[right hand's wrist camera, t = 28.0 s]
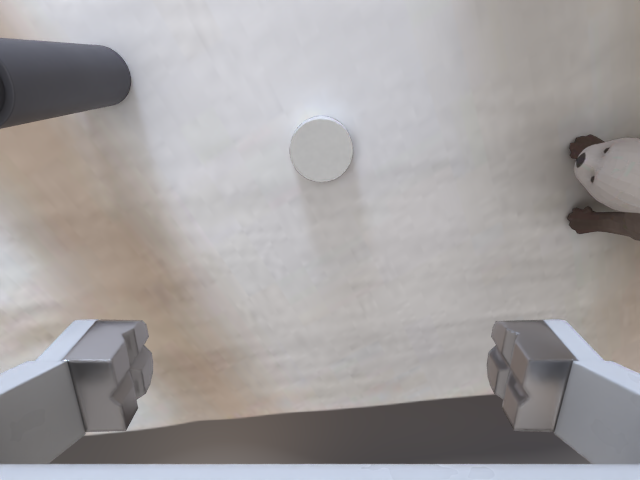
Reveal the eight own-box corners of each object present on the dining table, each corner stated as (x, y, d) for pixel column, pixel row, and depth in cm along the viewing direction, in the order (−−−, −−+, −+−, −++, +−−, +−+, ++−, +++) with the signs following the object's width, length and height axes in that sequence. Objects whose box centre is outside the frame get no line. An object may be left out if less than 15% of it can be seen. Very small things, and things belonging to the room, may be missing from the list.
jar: (61, 73, 33) (-132, 82, 19) (96, 32, 32) (-80, 8, 18) (107, 117, 34) (-43, 156, 20) (142, 78, 33) (10, 91, 19)
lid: (362, 154, 35) (365, 159, 33) (313, 187, 36) (313, 193, 34) (329, 103, 33) (330, 105, 32) (279, 138, 34) (277, 142, 33)
